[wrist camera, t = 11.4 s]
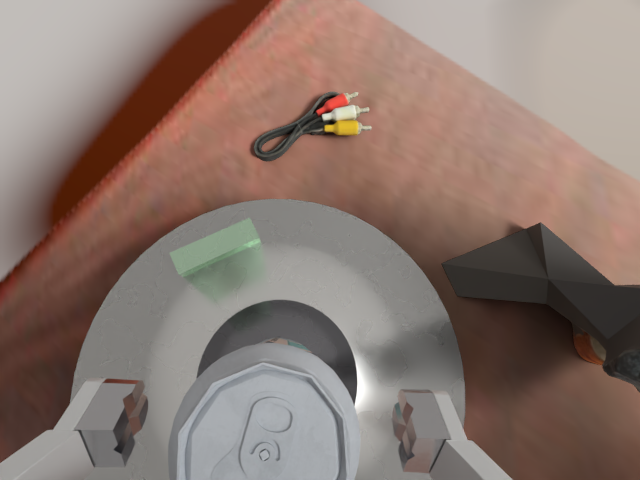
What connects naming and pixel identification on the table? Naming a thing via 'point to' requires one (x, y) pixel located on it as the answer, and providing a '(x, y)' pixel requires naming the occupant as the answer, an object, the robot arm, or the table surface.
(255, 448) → the beer can
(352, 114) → the composite cable
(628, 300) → the dark grey angular piece
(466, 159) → the table surface
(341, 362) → the round grey plate
